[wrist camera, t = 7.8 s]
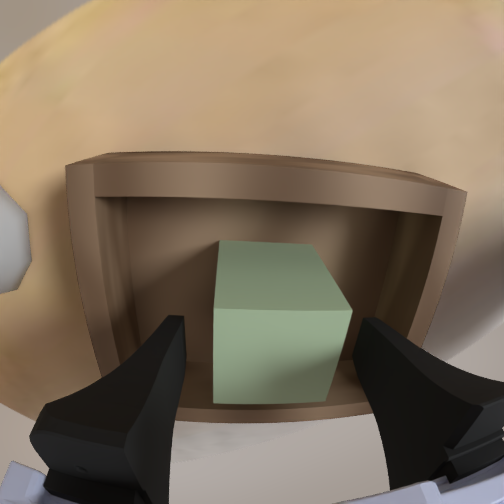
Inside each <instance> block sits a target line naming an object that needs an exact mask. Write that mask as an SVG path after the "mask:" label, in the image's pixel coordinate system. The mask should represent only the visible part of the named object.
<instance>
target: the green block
mask: <svg viewBox="0 0 504 504" xmlns="http://www.w3.org/2000/svg"><path fill="white" fill-rule="evenodd" d="M352 311H353V310H352V308H351V307H350V305H349V303H348V302H347V300H346V298H345V297H344V295H343V294H342V292H341V290H340V289H339V287H338V285H337V284H336V282H335V280H334V279H333V277H332V276H331V274H330V272H329V271H328V269H327V268H326V266H325V264H324V263H323V261H322V260H321V258H320V256H319V255H318V253H317V252H316V250H315V249H314V247H313V245H311V244H291V243H271V242H250V241H228V240H220V242H219V252H218V263H217V275H216V286H215V298H214V323H213V403H219V404H286V403H307V402H322V401H326V398H327V395H328V392H329V389H330V386H331V383H332V380H333V377H334V373H335V370H336V367H337V364H338V361H339V357H340V354H341V351H342V347H343V344H344V340H345V337H346V333H347V330H348V326H349V322H350V319H351V315H352Z"/></svg>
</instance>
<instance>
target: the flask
mask: <svg viewBox="0 0 504 504" xmlns="http://www.w3.org/2000/svg"><path fill="white" fill-rule="evenodd" d="M31 261H32V258H31V250H30V241H29V230H28V218H27V213H26V212H25V211H24V210H23V209H22V208H21V207H20V206H19V205H18V204H17V203H16V202H15V201H14V200H13V199H12V198H11V197H10V195H9V194H8V193H7V192H6V191H5V190H4V189H3V188H2V187H1V185H0V294H1V293H5V292H10V291H13V290H17V289H18V287H19V285H20V283H21V281H22V279H23V277H24V275H25V273H26V271H27V269H28V267H29V265H30V263H31Z"/></svg>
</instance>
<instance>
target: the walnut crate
mask: <svg viewBox="0 0 504 504" xmlns="http://www.w3.org/2000/svg"><path fill="white" fill-rule="evenodd" d="M65 169H66V187H67V201H68V212H69V222H70V231H71V239H72V246H73V253H74V259H75V266H76V272H77V277H78V283H79V288H80V293H81V298H82V303H83V308H84V312H85V317H86V321H87V325H88V329H89V333H90V337H91V341H92V345H93V348H94V352H95V356H96V359H97V363H98V366H99V369H100V373H101V376H102V378H103V377H104V376H106V375H107V374H109V373H110V372H112V371H113V370H114V369H116V368H117V367H118V366H120V365H121V364H122V363H123V362H124V361H126V360H127V359H128V358H129V357H130V356H131V355H132V354H133V353H134V352H135V351H136V350H137V349H138V348H139V347H140V346H141V345H142V344H143V343H144V342H145V341H146V340H147V339H148V338H149V337H150V336H151V335H152V333H153V332H154V331H155V330H156V329H157V328H158V326H159V325H160V324H161V323H162V322H163V320H164V319H165V318H166V317H167V316H168V315H181V316H184V322H185V338H186V353H187V358H186V368H185V377H184V382H183V386H182V391H181V395H180V399H179V404H178V408H177V413H176V417H175V420H176V421H190V422H209V423H279V422H298V421H311V420H323V419H333V418H341V417H350V416H357V415H364V414H371V413H373V411H372V409H371V407H370V404H369V402H368V400H367V397H366V395H365V393H364V390H363V388H362V386H361V383H360V381H359V379H358V376H357V373H356V370H355V366H354V362H353V358H352V353H353V350H354V347H355V343H356V340H357V337H358V333H359V330H360V326H361V323H362V319H363V318H367V317H376V318H378V319H380V320H381V321H383V322H384V323H386V324H387V325H389V326H390V327H391V328H393V329H394V330H396V331H397V332H398V333H400V334H401V335H403V336H404V337H405V338H407V339H408V340H410V341H411V342H413V343H414V344H415V345H417V346H418V347H420V348H421V346H422V344H423V342H424V339H425V337H426V334H427V332H428V329H429V326H430V324H431V321H432V319H433V316H434V313H435V310H436V308H437V305H438V302H439V299H440V296H441V293H442V290H443V287H444V284H445V281H446V277H447V274H448V271H449V267H450V264H451V260H452V257H453V253H454V249H455V246H456V242H457V238H458V234H459V229H460V225H461V221H462V216H463V212H464V207H465V202H466V196H467V192H466V191H463V190H461V189H458V188H456V187H453V186H451V185H448V184H445V183H443V182H440V181H437V180H434V179H432V178H429V177H426V176H423V175H420V174H417V173H413V172H407V171H401V170H395V169H389V168H383V167H376V166H369V165H362V164H355V163H347V162H339V161H330V160H321V159H311V158H301V157H290V156H277V155H263V154H246V153H225V152H181V151H161V152H118V153H106V154H102V155H99V156H95V157H92V158H88V159H85V160H82V161H78V162H75V163H72V164H69V165H65ZM220 240H228V241H250V242H271V243H291V244H311V245H313V247H314V249H315V250H316V252H317V253H318V255H319V256H320V258H321V260H322V261H323V263H324V264H325V266H326V268H327V269H328V271H329V272H330V274H331V276H332V277H333V279H334V280H335V282H336V284H337V285H338V287H339V289H340V290H341V292H342V294H343V295H344V297H345V298H346V300H347V302H348V303H349V305H350V307H351V308H352V310H353V311H352V315H351V319H350V322H349V326H348V330H347V333H346V337H345V340H344V344H343V347H342V351H341V354H340V357H339V361H338V364H337V367H336V370H335V373H334V377H333V380H332V383H331V386H330V389H329V392H328V395H327V398H326V401H322V402H307V403H286V404H219V403H213V323H214V298H215V286H216V275H217V263H218V252H219V242H220Z"/></svg>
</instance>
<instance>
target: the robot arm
mask: <svg viewBox="0 0 504 504" xmlns="http://www.w3.org/2000/svg"><path fill="white" fill-rule="evenodd" d="M186 358H187V353H186V338H185V322H184V316H181V315H168V316H167V317H166V318H165V319H164V320H163V322H162V323H161V324H160V325H159V326H158V328H157V329H156V330H155V331H154V332H153V333H152V335H151V336H150V337H149V338H148V339H147V340H146V341H145V342H144V343H143V344H142V345H141V346H140V347H139V348H138V349H137V350H136V351H135V352H134V353H133V354H132V355H131V356H130V357H129V358H128V359H127V360H126V361H124V362H123V363H122V364H121V365H120V366H118V367H117V368H116V369H114V370H113V371H112V372H110V373H109V374H107V375H106V376H104V377H103V378H101V379H99V380H98V381H96V382H95V383H93V384H91V385H89V386H88V387H86V388H84V389H82V390H80V391H78V392H76V393H73V394H71V395H69V396H66V397H64V398H61V399H58V400H56V401H53V402H50V403H47V404H45V406H44V407H43V409H42V411H41V412H40V414H39V416H38V418H37V421H36V423H35V425H34V427H33V429H32V431H31V434H30V436H29V437H30V442H31V444H32V446H33V447H34V449H35V450H36V452H37V453H38V454H39V456H40V457H41V458H42V460H43V461H44V462H45V463H46V465H47V466H48V467H49V471H48V474H47V476H46V475H45V474H43V473H42V472H40V471H38V470H36V469H33V468H30V467H28V466H25V465H22V464H20V463H18V462H15V461H11V463H10V465H9V467H8V469H7V472H6V474H5V477H4V479H3V482H2V485H1V487H0V504H169V477H170V476H169V475H170V461H171V447H172V436H173V428H174V422H175V417H176V413H177V408H178V404H179V399H180V395H181V391H182V386H183V382H184V377H185V368H186ZM352 358H353V362H354V366H355V370H356V373H357V376H358V379H359V381H360V383H361V386H362V388H363V390H364V393H365V395H366V397H367V400H368V402H369V404H370V407H371V409H372V411H373V414H374V416H375V419H376V422H377V425H378V428H379V432H380V436H381V440H382V444H383V448H384V453H385V457H386V463H387V469H388V476H389V485H390V491H387V492H383V493H379V494H375V495H371V496H366V497H362V498H357V499H352V500H347V501H342V502H338V503H334V504H504V441H503V439H502V438H503V437H504V431H503V429H502V427H503V426H504V382H500V381H496V380H491V379H487V378H484V377H480V376H477V375H474V374H471V373H468V372H466V371H463V370H461V369H458V368H456V367H454V366H452V365H450V364H448V363H446V362H444V361H442V360H440V359H438V358H436V357H434V356H433V355H431V354H429V353H428V352H426V351H425V350H423V349H422V348H420V347H418V346H417V345H415V344H414V343H413V342H411V341H410V340H408V339H407V338H405V337H404V336H403V335H401V334H400V333H398V332H397V331H396V330H394V329H393V328H391V327H390V326H389V325H387V324H386V323H384V322H383V321H381V320H380V319H378V318H376V317H367V318H363V319H362V323H361V326H360V330H359V333H358V337H357V340H356V343H355V347H354V350H353V353H352Z"/></svg>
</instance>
